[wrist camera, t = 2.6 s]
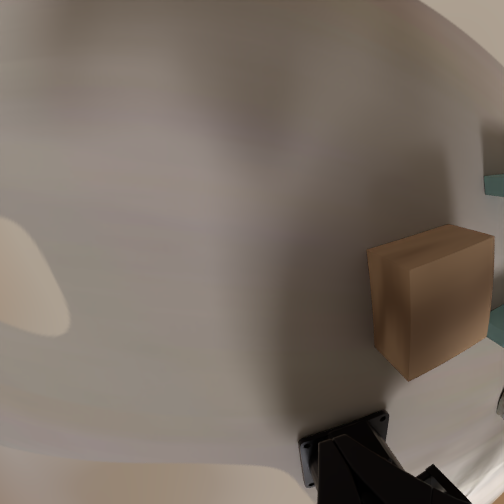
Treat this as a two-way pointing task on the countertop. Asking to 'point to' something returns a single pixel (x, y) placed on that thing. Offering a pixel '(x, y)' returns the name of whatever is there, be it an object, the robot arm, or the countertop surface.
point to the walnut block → (431, 296)
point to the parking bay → (500, 321)
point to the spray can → (501, 407)
